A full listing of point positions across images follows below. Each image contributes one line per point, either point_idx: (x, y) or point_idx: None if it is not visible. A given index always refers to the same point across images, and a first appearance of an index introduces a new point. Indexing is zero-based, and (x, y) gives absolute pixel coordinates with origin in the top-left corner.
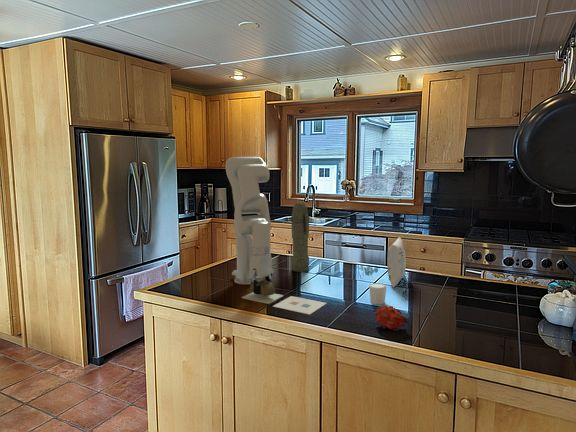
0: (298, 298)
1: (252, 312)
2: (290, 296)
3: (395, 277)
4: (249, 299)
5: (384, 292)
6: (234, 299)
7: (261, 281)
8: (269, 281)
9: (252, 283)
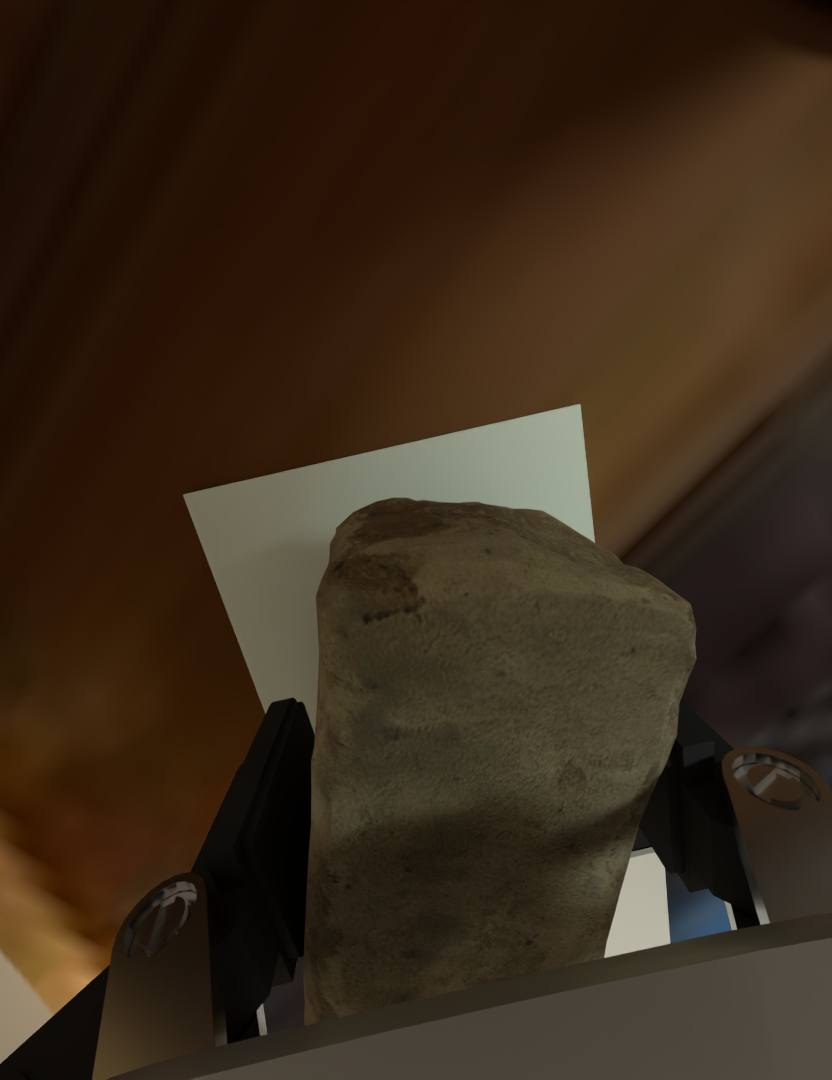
0: (640, 934)
1: (46, 919)
2: (642, 857)
3: None
4: (236, 626)
5: None
6: (68, 455)
7: (475, 872)
8: (665, 863)
9: (116, 939)
